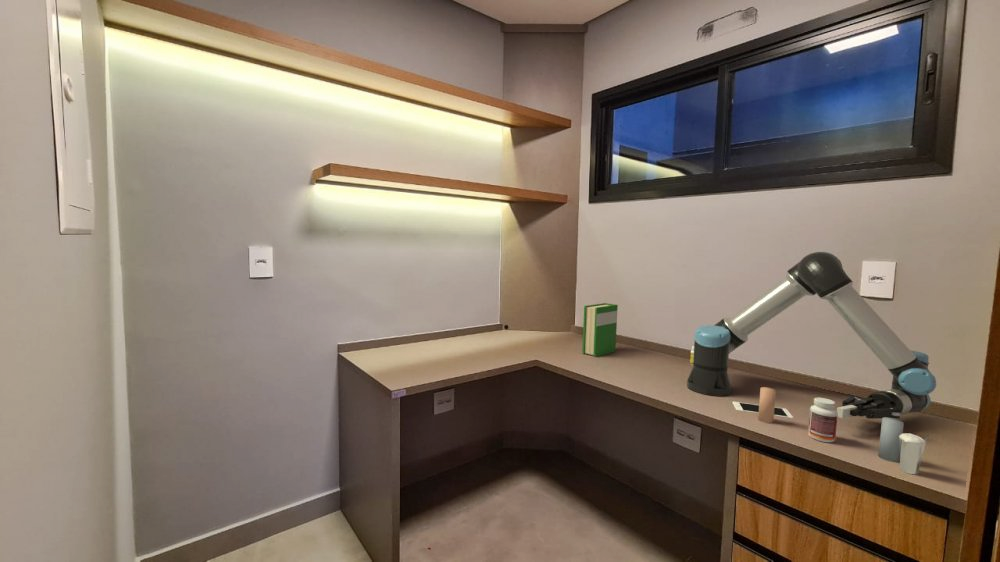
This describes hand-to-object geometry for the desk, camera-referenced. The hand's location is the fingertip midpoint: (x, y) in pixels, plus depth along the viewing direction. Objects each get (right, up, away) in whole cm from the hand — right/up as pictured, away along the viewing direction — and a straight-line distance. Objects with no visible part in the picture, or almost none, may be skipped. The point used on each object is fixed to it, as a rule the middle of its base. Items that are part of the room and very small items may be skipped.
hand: (839, 412), depth 118 cm
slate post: (+2, -8, -12) cm, 15 cm away
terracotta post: (-15, -5, +9) cm, 19 cm away
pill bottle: (-7, -7, -2) cm, 10 cm away
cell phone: (-11, -5, +18) cm, 22 cm away
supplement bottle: (-9, 0, +69) cm, 69 cm away
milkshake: (+2, -8, -19) cm, 21 cm away
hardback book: (-49, +2, +86) cm, 99 cm away
